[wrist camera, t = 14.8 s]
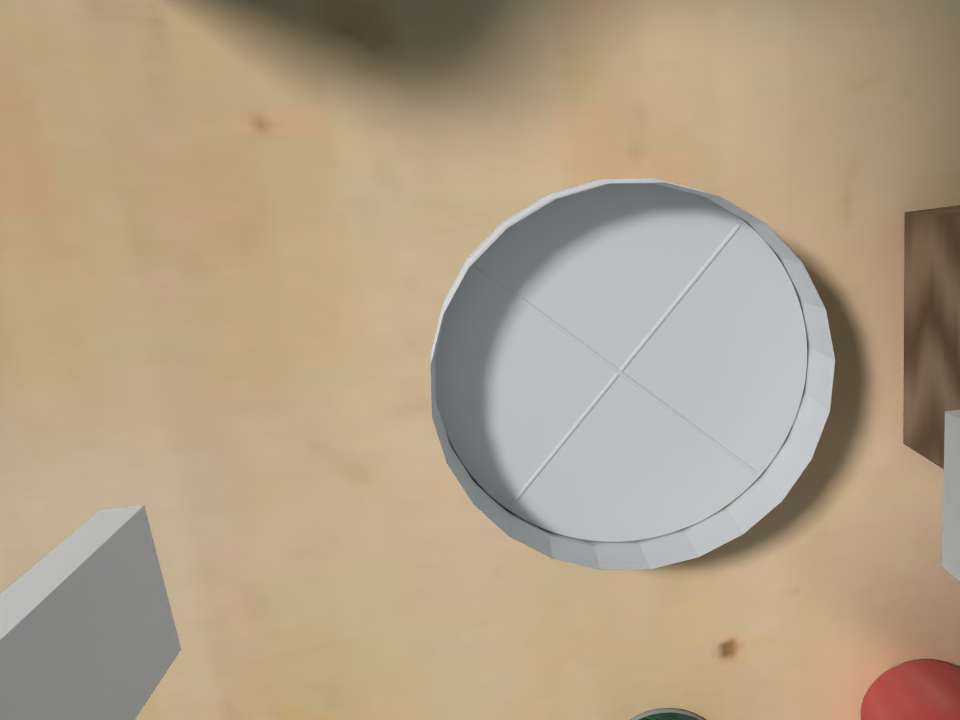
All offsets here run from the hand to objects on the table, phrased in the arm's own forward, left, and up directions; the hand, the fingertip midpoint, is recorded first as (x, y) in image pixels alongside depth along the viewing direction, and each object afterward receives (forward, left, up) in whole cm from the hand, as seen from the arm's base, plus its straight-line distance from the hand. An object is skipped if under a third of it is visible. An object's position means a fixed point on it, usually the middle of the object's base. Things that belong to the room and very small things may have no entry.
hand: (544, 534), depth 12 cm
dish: (+6, +6, -32) cm, 33 cm away
